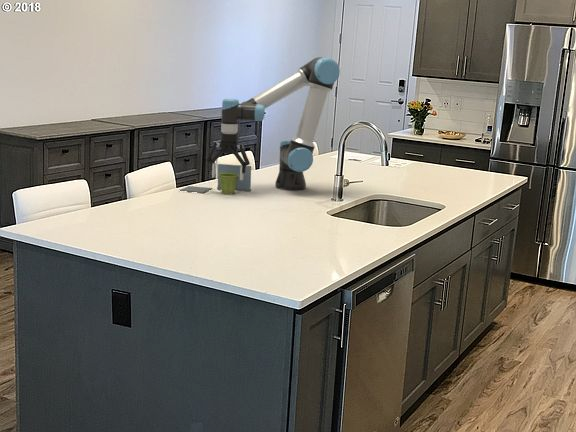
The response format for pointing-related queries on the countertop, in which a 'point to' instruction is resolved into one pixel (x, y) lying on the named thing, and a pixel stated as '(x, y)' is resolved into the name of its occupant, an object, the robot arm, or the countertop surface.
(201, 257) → the countertop surface
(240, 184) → the screen
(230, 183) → the plant pot
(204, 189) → the mat
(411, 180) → the countertop surface
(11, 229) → the countertop surface
